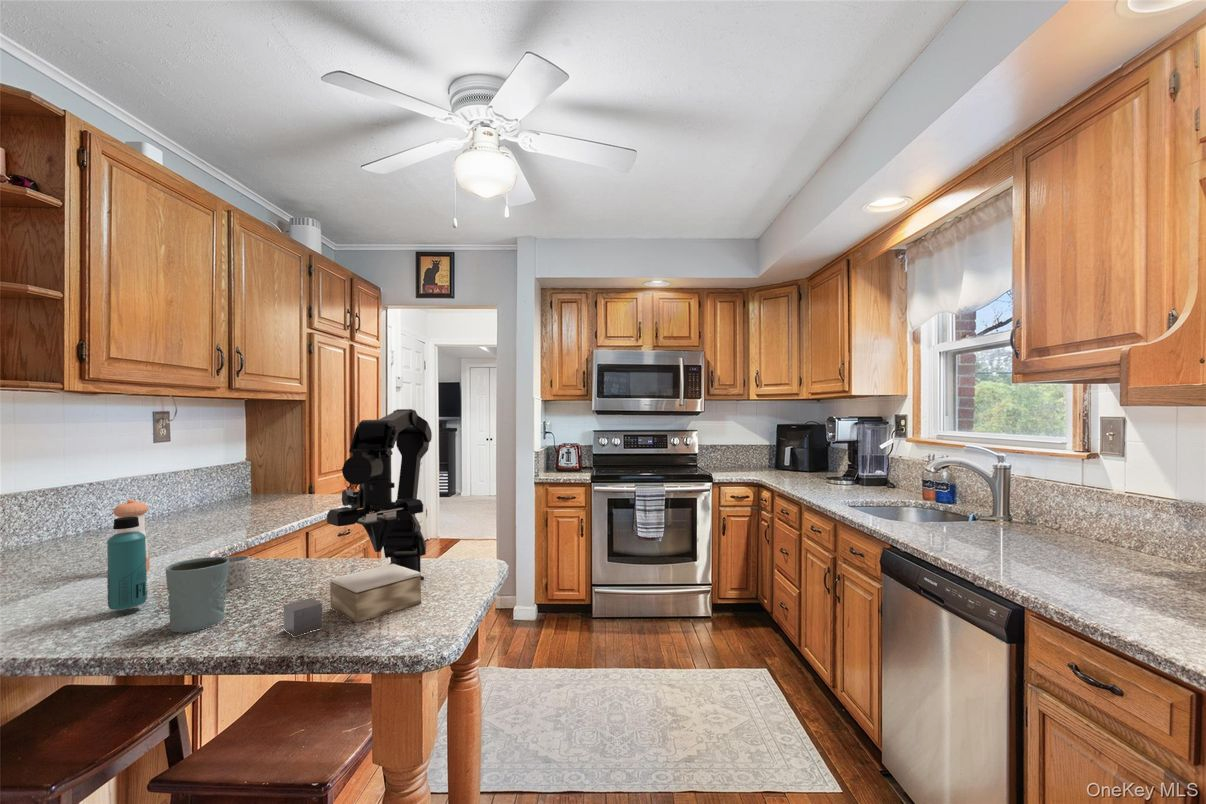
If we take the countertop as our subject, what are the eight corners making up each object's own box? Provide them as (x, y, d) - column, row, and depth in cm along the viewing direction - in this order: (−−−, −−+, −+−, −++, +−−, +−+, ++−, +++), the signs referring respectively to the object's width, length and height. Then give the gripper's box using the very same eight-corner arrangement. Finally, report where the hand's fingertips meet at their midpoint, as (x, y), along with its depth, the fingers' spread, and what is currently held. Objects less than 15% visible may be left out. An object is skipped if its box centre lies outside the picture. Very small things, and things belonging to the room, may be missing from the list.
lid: (392, 566, 125) (392, 563, 125) (420, 575, 117) (420, 572, 117) (330, 581, 115) (330, 578, 115) (356, 592, 107) (356, 589, 107)
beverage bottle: (138, 615, 113) (137, 519, 113) (99, 619, 111) (98, 521, 111) (154, 604, 119) (153, 513, 119) (117, 607, 117) (116, 515, 117)
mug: (234, 581, 134) (233, 554, 134) (256, 583, 133) (256, 556, 133) (196, 595, 124) (195, 566, 124) (220, 597, 123) (219, 568, 123)
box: (393, 591, 125) (392, 566, 125) (420, 602, 117) (420, 577, 117) (330, 608, 115) (330, 582, 115) (356, 623, 107) (356, 594, 107)
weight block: (311, 622, 107) (311, 597, 108) (322, 629, 104) (321, 603, 104) (284, 631, 104) (283, 604, 104) (294, 638, 100) (293, 611, 100)
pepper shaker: (149, 572, 143) (148, 499, 143) (112, 578, 138) (111, 503, 139) (149, 566, 149) (148, 496, 149) (113, 571, 144) (113, 499, 144)
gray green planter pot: (152, 633, 103) (151, 570, 103) (194, 613, 113) (194, 556, 113) (203, 634, 103) (202, 570, 103) (241, 613, 113) (241, 556, 113)
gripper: (398, 471, 128) (399, 538, 128) (315, 480, 114) (316, 554, 114) (424, 474, 121) (425, 545, 120) (338, 484, 106) (339, 564, 106)
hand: (377, 551), depth 115 cm, fingers closed
